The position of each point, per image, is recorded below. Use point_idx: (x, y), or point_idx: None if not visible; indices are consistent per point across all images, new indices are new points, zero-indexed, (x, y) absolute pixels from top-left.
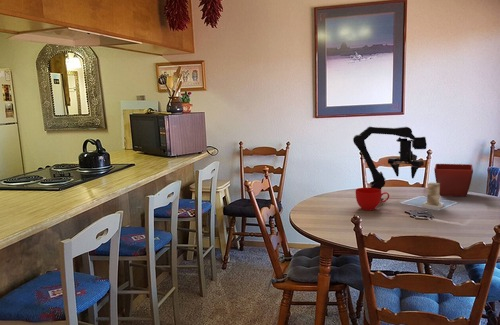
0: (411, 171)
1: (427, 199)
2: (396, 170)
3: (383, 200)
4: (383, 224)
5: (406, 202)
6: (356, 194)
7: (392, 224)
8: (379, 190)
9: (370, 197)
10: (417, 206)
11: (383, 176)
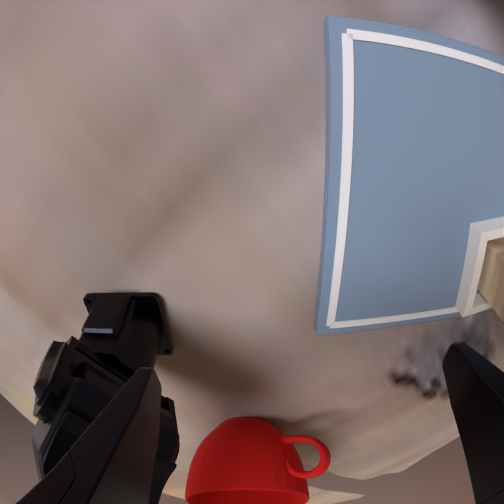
0: (475, 482)
1: (498, 313)
2: (140, 497)
3: (299, 441)
4: (375, 457)
5: (353, 294)
6: (222, 500)
7: (395, 448)
8: (276, 485)
9: (287, 493)
10: (434, 316)
11: (63, 425)
